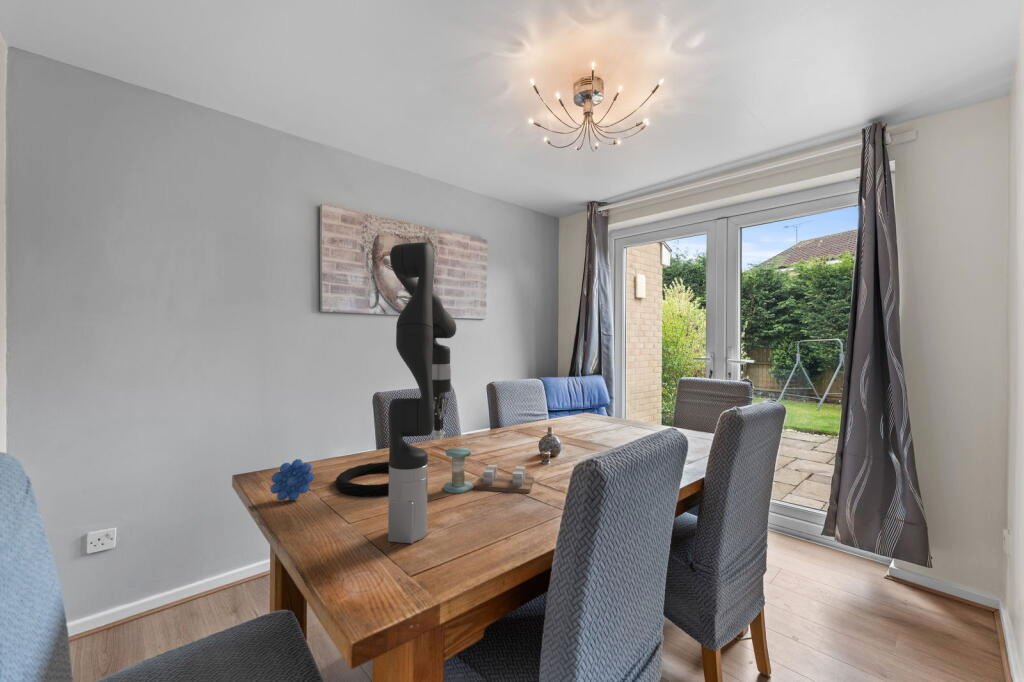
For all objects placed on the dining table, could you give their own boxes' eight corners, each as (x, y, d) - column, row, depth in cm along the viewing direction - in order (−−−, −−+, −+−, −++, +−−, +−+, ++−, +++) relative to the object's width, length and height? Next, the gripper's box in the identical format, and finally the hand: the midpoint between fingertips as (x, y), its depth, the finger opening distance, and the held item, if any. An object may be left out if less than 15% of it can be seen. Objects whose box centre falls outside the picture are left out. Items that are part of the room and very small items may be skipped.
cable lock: (317, 484, 133) (361, 457, 163) (317, 497, 133) (361, 467, 163) (406, 488, 130) (434, 460, 160) (406, 501, 131) (434, 470, 160)
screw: (430, 437, 148) (445, 436, 149) (430, 440, 143) (445, 440, 144) (431, 398, 148) (445, 398, 149) (431, 400, 143) (446, 400, 144)
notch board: (529, 493, 137) (530, 476, 137) (473, 489, 140) (473, 473, 140) (533, 480, 149) (534, 465, 149) (481, 477, 152) (481, 462, 152)
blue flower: (316, 493, 135) (316, 454, 135) (313, 501, 128) (313, 460, 128) (273, 497, 131) (273, 457, 131) (268, 505, 125) (268, 463, 125)
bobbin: (468, 494, 135) (468, 455, 135) (440, 492, 137) (440, 453, 137) (475, 484, 144) (475, 448, 144) (448, 482, 146) (449, 446, 146)
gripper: (444, 380, 138) (443, 435, 139) (455, 375, 152) (455, 425, 152) (421, 379, 139) (420, 433, 140) (434, 375, 153) (434, 424, 153)
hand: (438, 429), depth 146 cm, fingers closed on screw, 2 cm apart
